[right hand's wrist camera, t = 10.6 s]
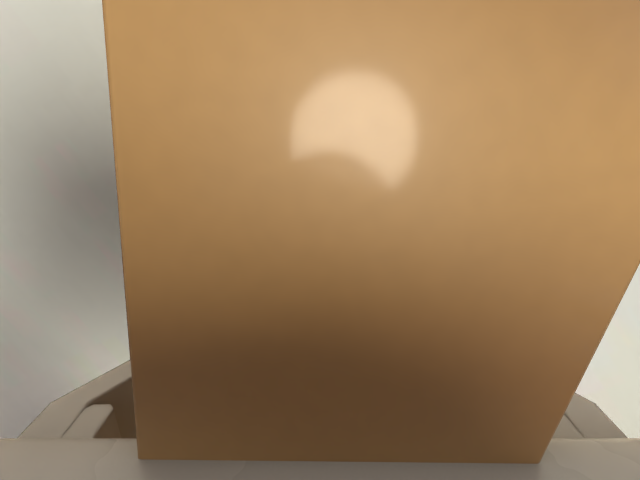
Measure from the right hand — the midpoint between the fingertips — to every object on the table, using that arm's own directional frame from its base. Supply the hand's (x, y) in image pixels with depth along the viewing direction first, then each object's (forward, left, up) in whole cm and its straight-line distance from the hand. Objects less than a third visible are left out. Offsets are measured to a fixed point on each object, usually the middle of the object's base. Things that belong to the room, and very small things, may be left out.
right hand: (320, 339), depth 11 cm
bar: (+4, +7, -4) cm, 9 cm away
